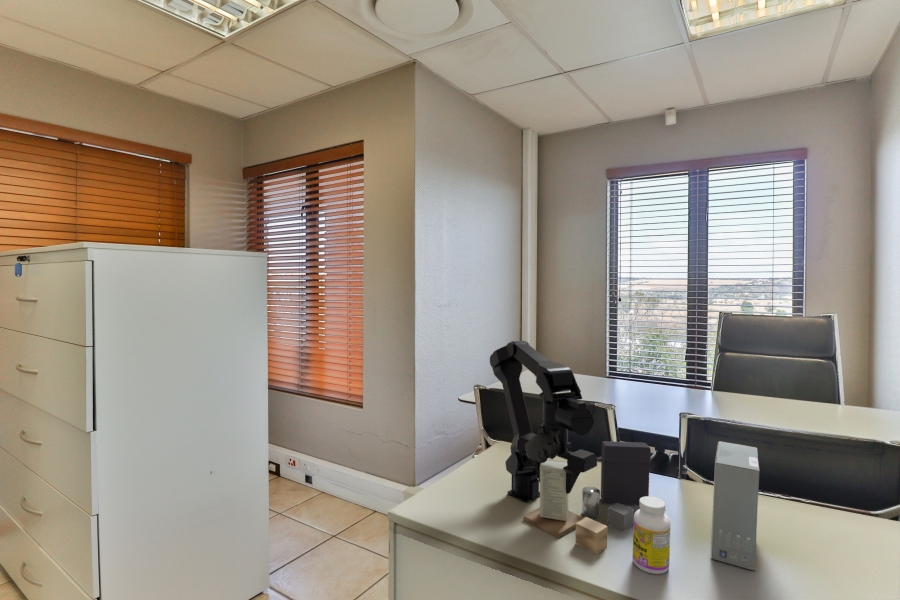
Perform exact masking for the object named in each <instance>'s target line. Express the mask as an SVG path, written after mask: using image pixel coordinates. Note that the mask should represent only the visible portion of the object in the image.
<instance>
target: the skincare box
mask: <svg viewBox="0 0 900 600" xmlns="http://www.w3.org/2000/svg"><path fill="white" fill-rule="evenodd" d="M565 466H567V461H561V460H560V461H559V460H554V459H547V461H546V462H544V463H541V464H540V482H539V492H540V496H539V507H540V517H545V518H551V519H557V520H564V521H567V517H568V511H569V494H567V493H566V472H565V470H564V469H563V467H565Z"/></svg>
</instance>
